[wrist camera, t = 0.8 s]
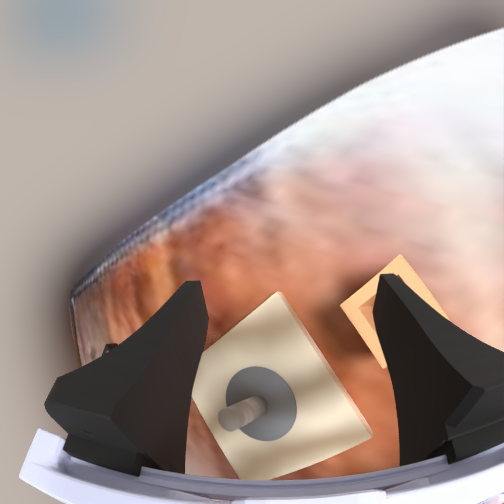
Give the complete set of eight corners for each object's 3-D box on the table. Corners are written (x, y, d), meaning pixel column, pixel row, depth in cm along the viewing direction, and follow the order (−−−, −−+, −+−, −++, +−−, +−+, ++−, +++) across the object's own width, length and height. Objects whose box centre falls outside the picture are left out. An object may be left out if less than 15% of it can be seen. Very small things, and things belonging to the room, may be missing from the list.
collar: (444, 312, 20) (448, 318, 15) (394, 352, 22) (383, 369, 17) (407, 263, 22) (400, 253, 17) (360, 303, 24) (339, 305, 19)
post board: (374, 433, 21) (355, 465, 16) (250, 482, 27) (216, 506, 22) (281, 291, 29) (244, 290, 24) (184, 369, 34) (145, 377, 29)
